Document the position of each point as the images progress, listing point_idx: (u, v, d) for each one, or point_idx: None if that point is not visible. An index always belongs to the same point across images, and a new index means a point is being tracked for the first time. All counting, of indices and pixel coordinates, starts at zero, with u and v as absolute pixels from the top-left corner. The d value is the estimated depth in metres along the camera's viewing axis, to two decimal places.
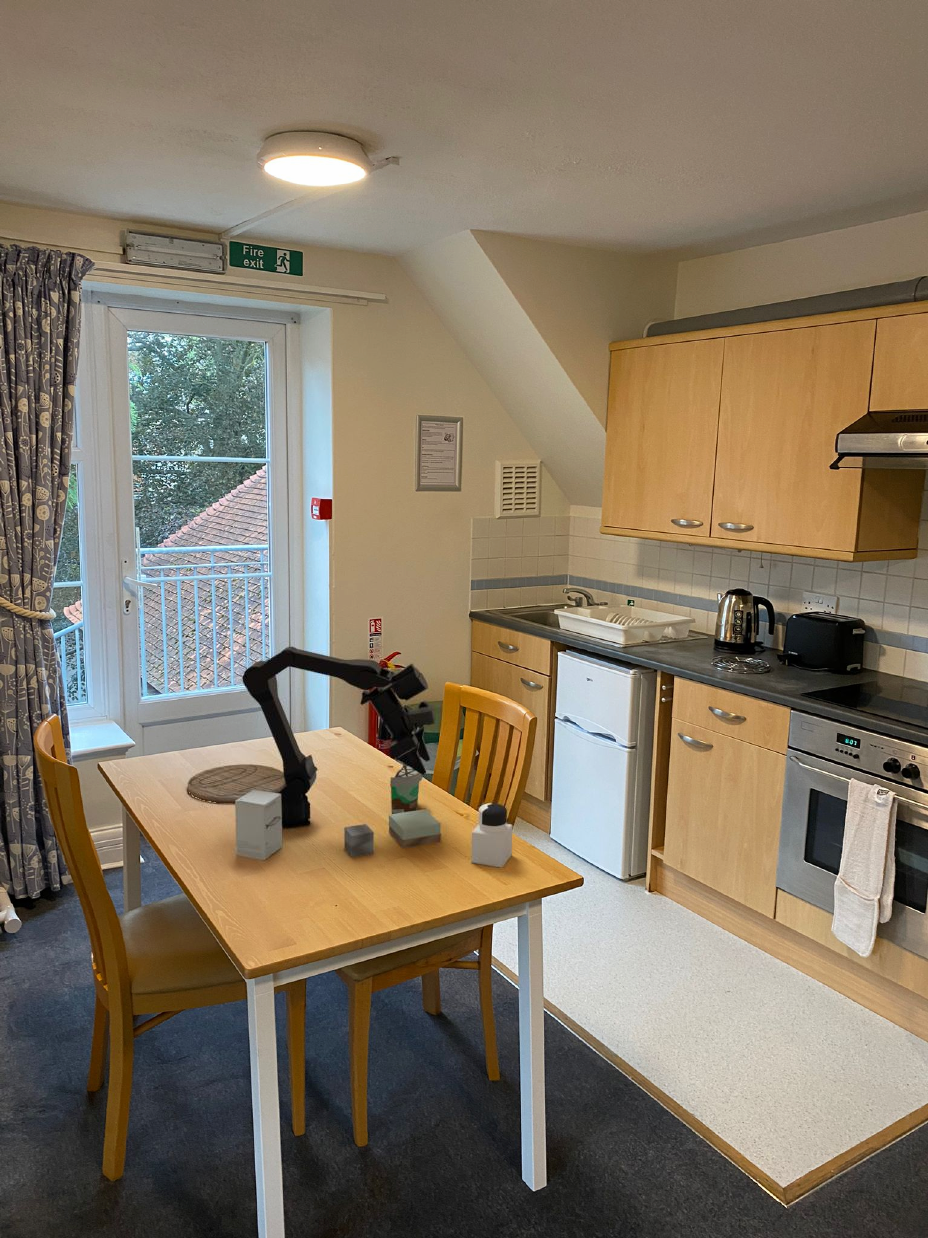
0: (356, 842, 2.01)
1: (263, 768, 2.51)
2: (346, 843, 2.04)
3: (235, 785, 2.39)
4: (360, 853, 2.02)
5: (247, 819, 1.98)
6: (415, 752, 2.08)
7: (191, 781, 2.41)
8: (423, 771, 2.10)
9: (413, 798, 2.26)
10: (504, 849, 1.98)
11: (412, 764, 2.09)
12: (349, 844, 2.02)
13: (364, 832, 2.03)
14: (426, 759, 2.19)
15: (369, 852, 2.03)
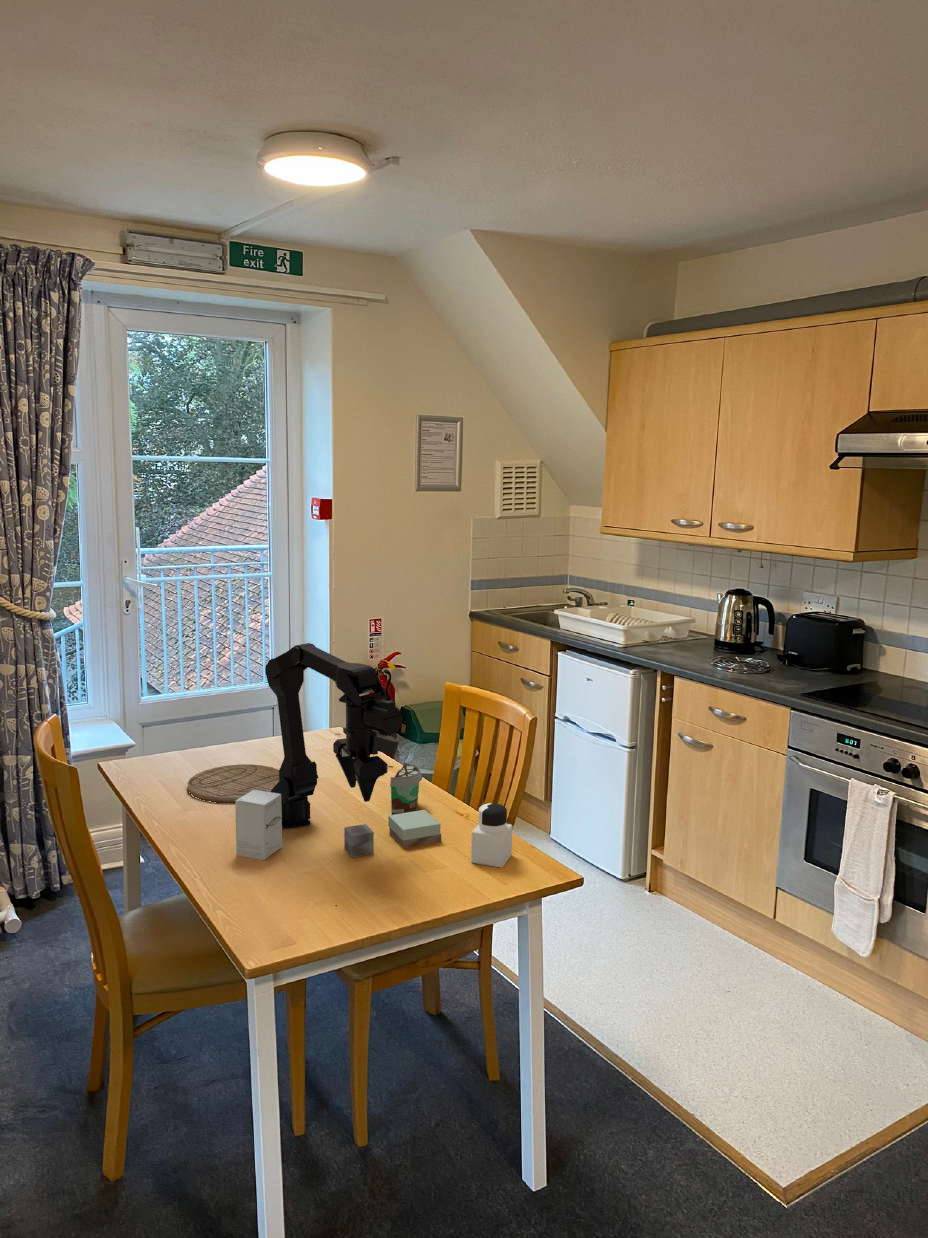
0: (356, 842, 2.01)
1: (263, 768, 2.51)
2: (346, 843, 2.04)
3: (235, 785, 2.39)
4: (360, 853, 2.02)
5: (247, 819, 1.98)
6: (376, 777, 1.96)
7: (191, 780, 2.41)
8: (368, 798, 1.98)
9: (413, 798, 2.26)
10: (504, 849, 1.98)
11: (364, 788, 1.96)
12: (349, 844, 2.02)
13: (364, 832, 2.03)
14: (352, 785, 2.06)
15: (369, 852, 2.03)
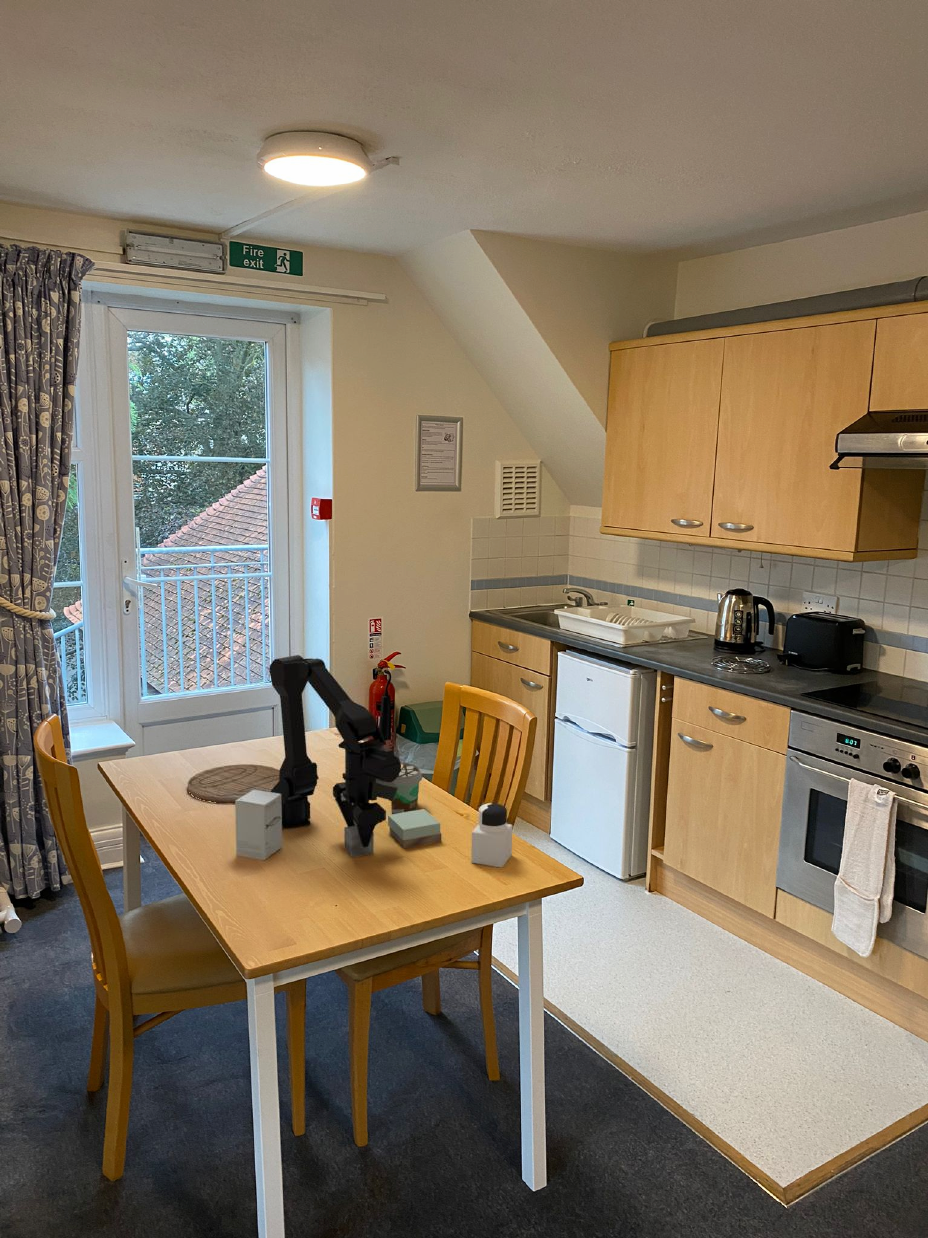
0: (356, 842, 2.01)
1: (263, 768, 2.51)
2: (346, 843, 2.04)
3: (235, 785, 2.39)
4: (360, 853, 2.02)
5: (247, 819, 1.98)
6: (374, 824, 1.98)
7: (191, 780, 2.41)
8: (367, 844, 2.00)
9: (413, 798, 2.26)
10: (504, 849, 1.98)
11: (363, 834, 1.98)
12: (349, 844, 2.02)
13: None
14: None
15: (369, 852, 2.03)
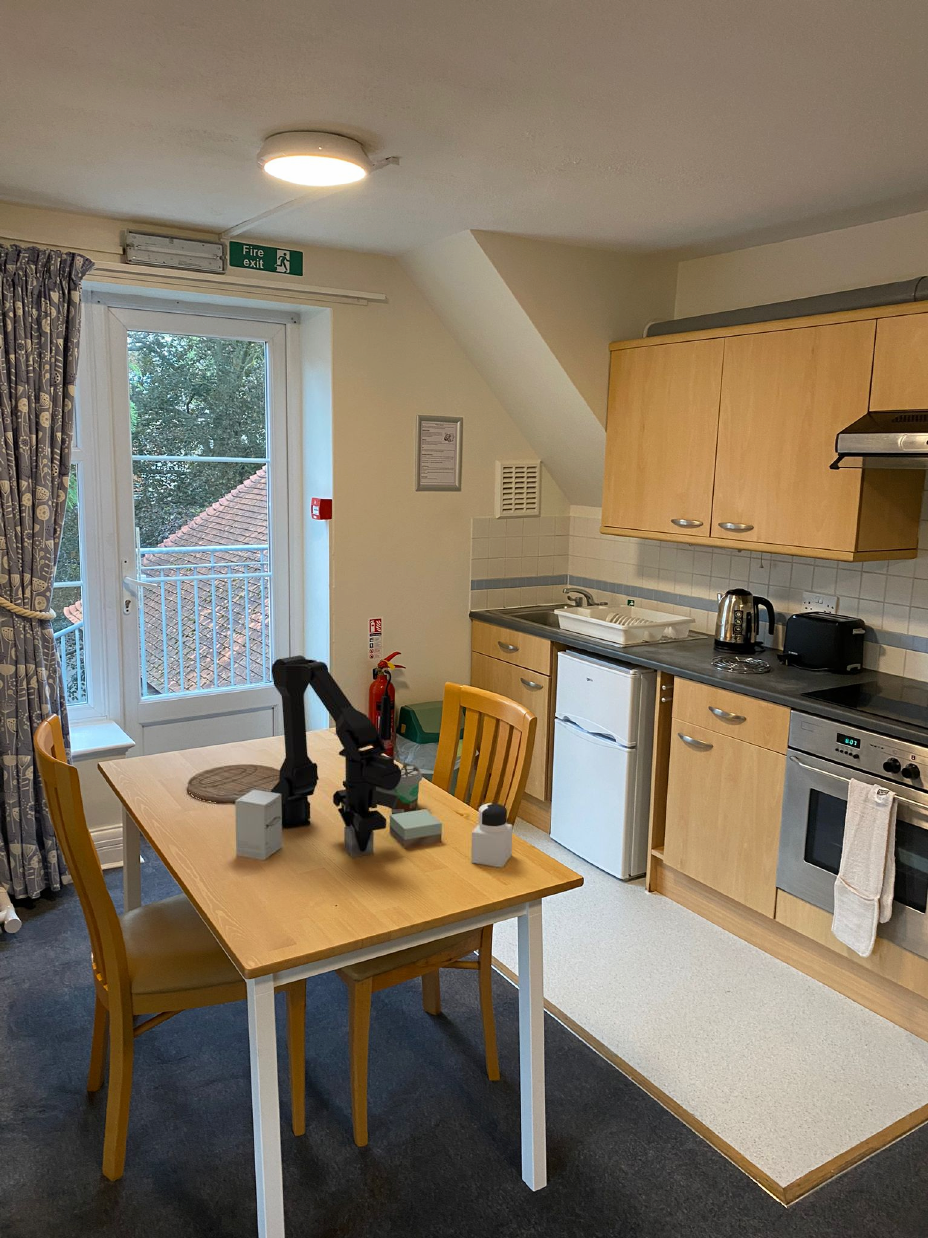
0: (356, 842, 2.01)
1: (263, 768, 2.51)
2: (346, 842, 2.04)
3: (235, 785, 2.39)
4: (360, 853, 2.02)
5: (247, 819, 1.98)
6: None
7: (191, 780, 2.41)
8: (364, 848, 2.02)
9: (413, 798, 2.26)
10: (504, 849, 1.98)
11: (360, 838, 2.00)
12: (349, 843, 2.02)
13: None
14: None
15: (369, 852, 2.03)
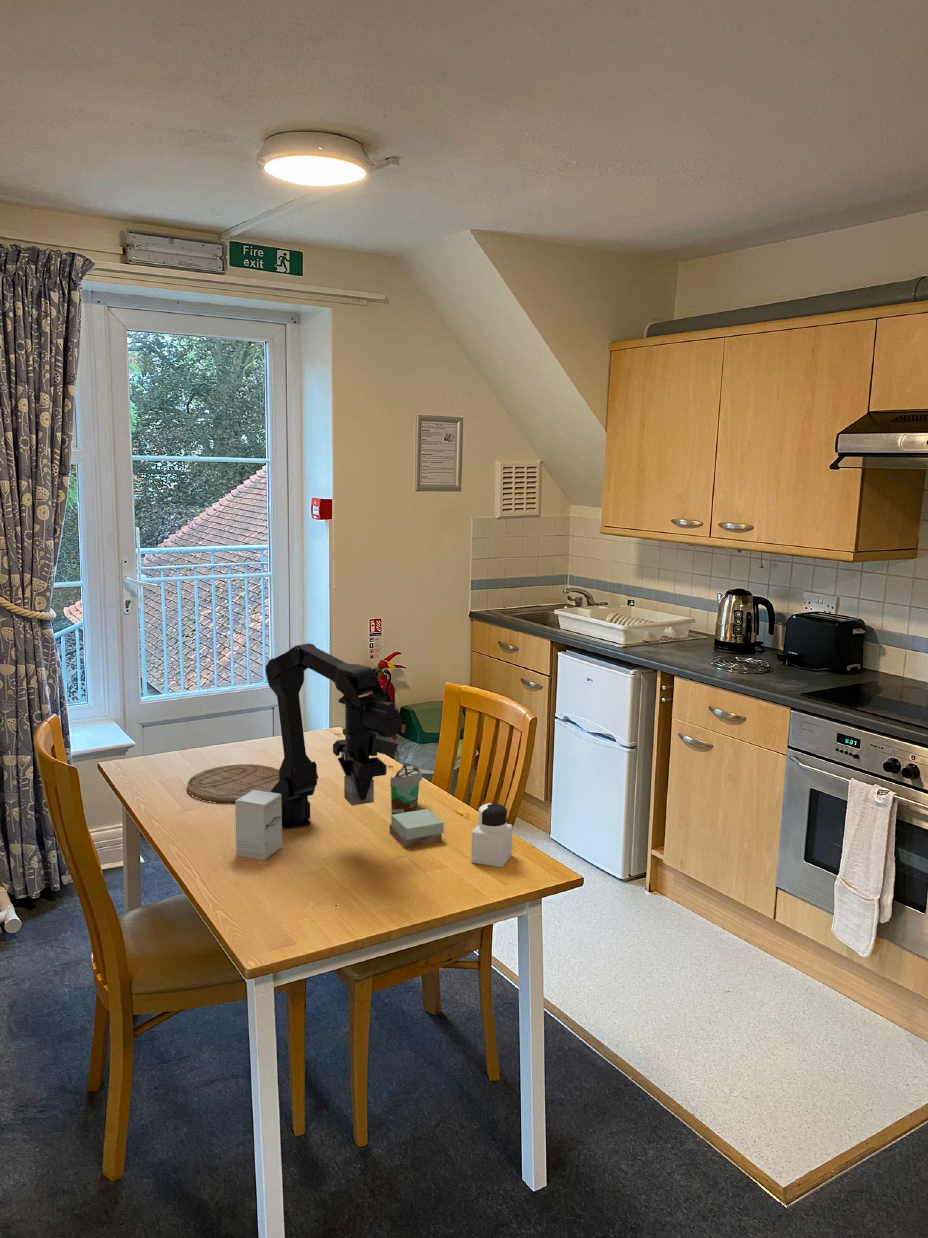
0: (356, 790, 1.99)
1: (263, 768, 2.51)
2: (346, 791, 2.02)
3: (235, 785, 2.39)
4: (360, 801, 2.00)
5: (247, 819, 1.98)
6: None
7: (191, 780, 2.41)
8: (364, 797, 2.00)
9: (413, 798, 2.26)
10: (504, 849, 1.98)
11: (360, 786, 1.98)
12: (349, 792, 2.00)
13: None
14: None
15: (369, 800, 2.01)
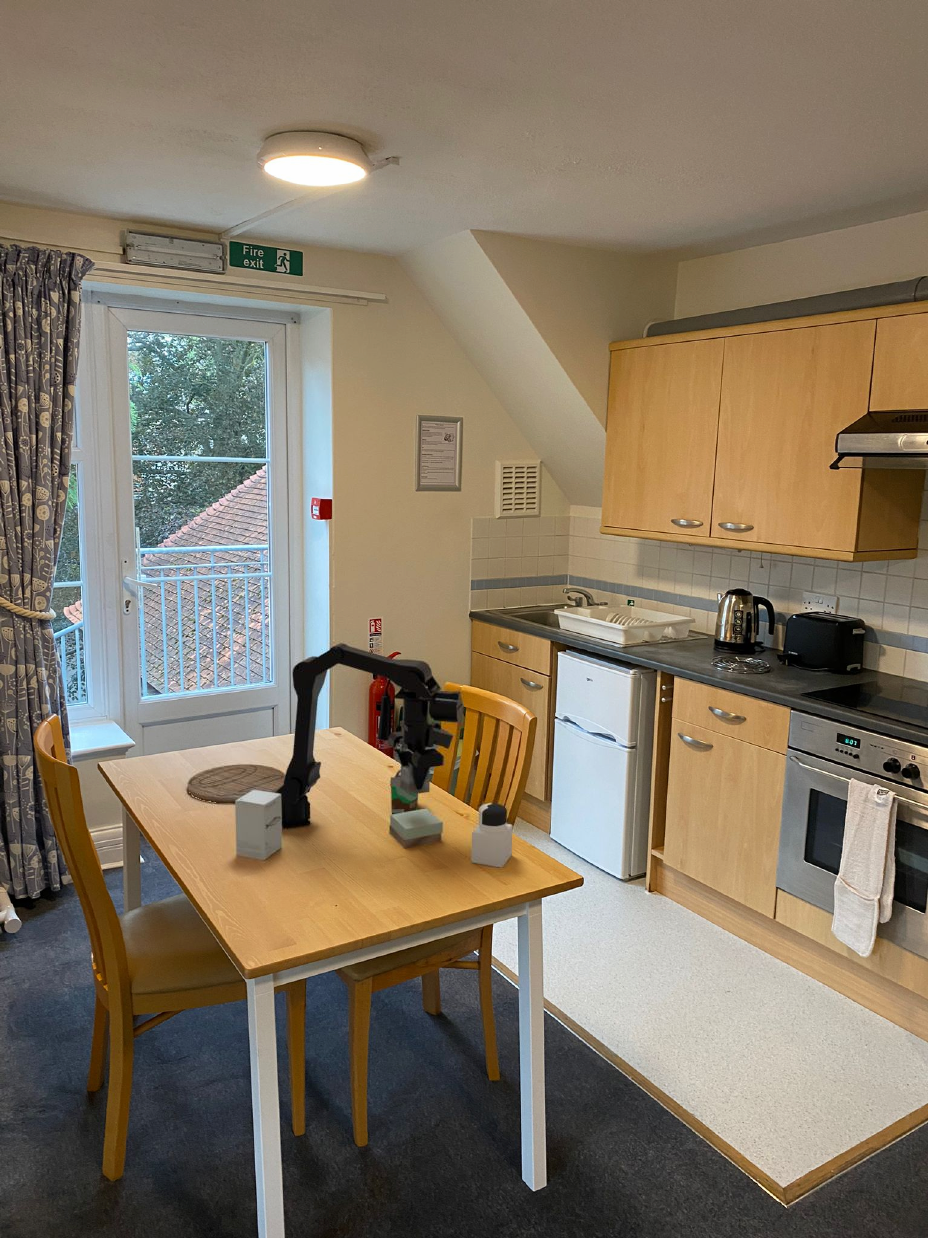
0: (413, 780, 2.07)
1: (263, 768, 2.51)
2: (403, 781, 2.09)
3: (235, 785, 2.39)
4: (417, 791, 2.08)
5: (247, 819, 1.98)
6: (429, 766, 2.06)
7: (191, 780, 2.41)
8: (420, 787, 2.07)
9: (413, 798, 2.26)
10: (504, 849, 1.98)
11: (418, 776, 2.06)
12: (406, 781, 2.08)
13: None
14: None
15: (425, 790, 2.09)
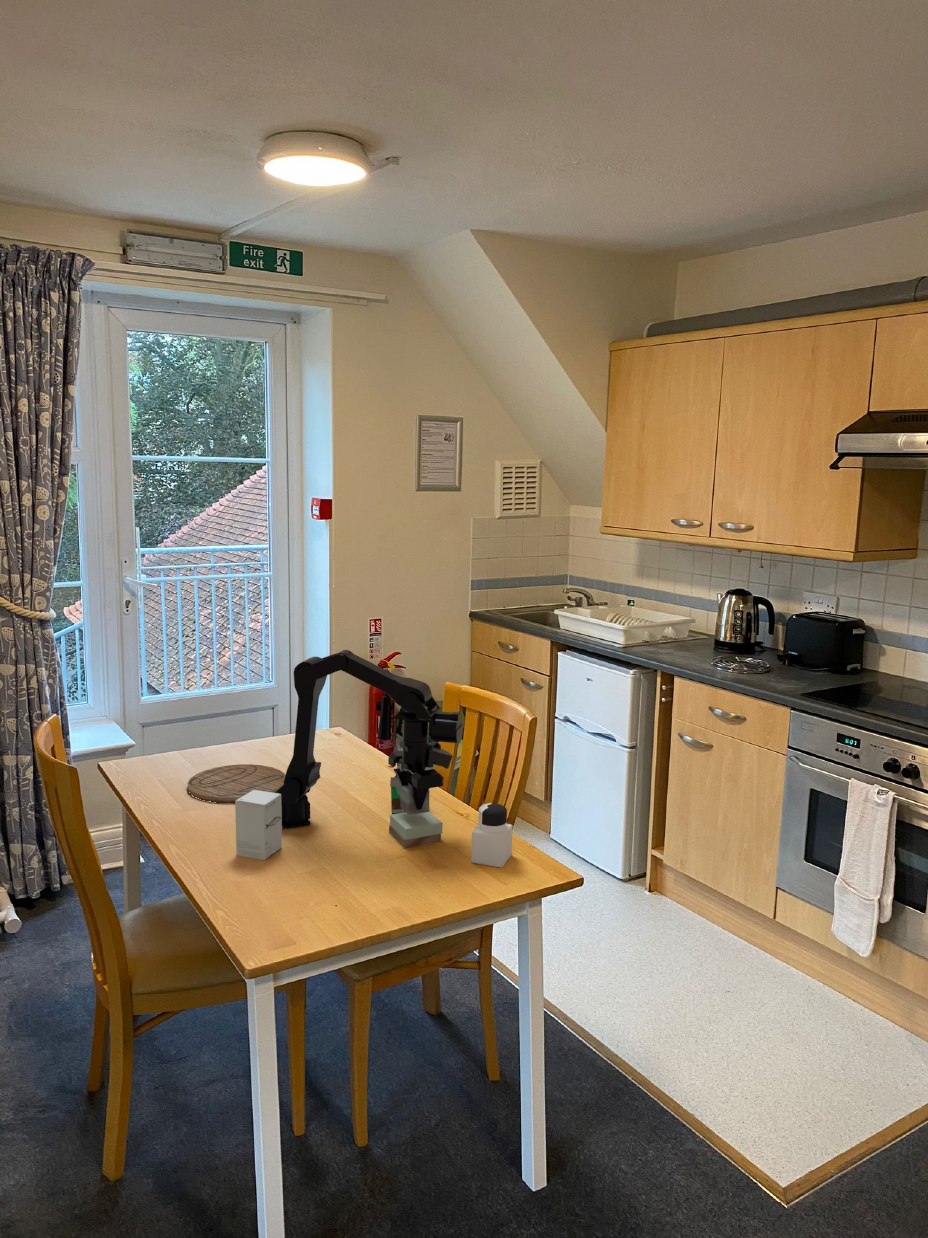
0: (413, 800, 2.08)
1: (263, 768, 2.51)
2: (403, 801, 2.10)
3: (235, 785, 2.39)
4: (416, 811, 2.09)
5: (247, 819, 1.98)
6: None
7: (191, 780, 2.41)
8: (420, 807, 2.08)
9: None
10: (504, 849, 1.98)
11: (417, 796, 2.06)
12: (406, 802, 2.08)
13: None
14: None
15: (425, 810, 2.09)
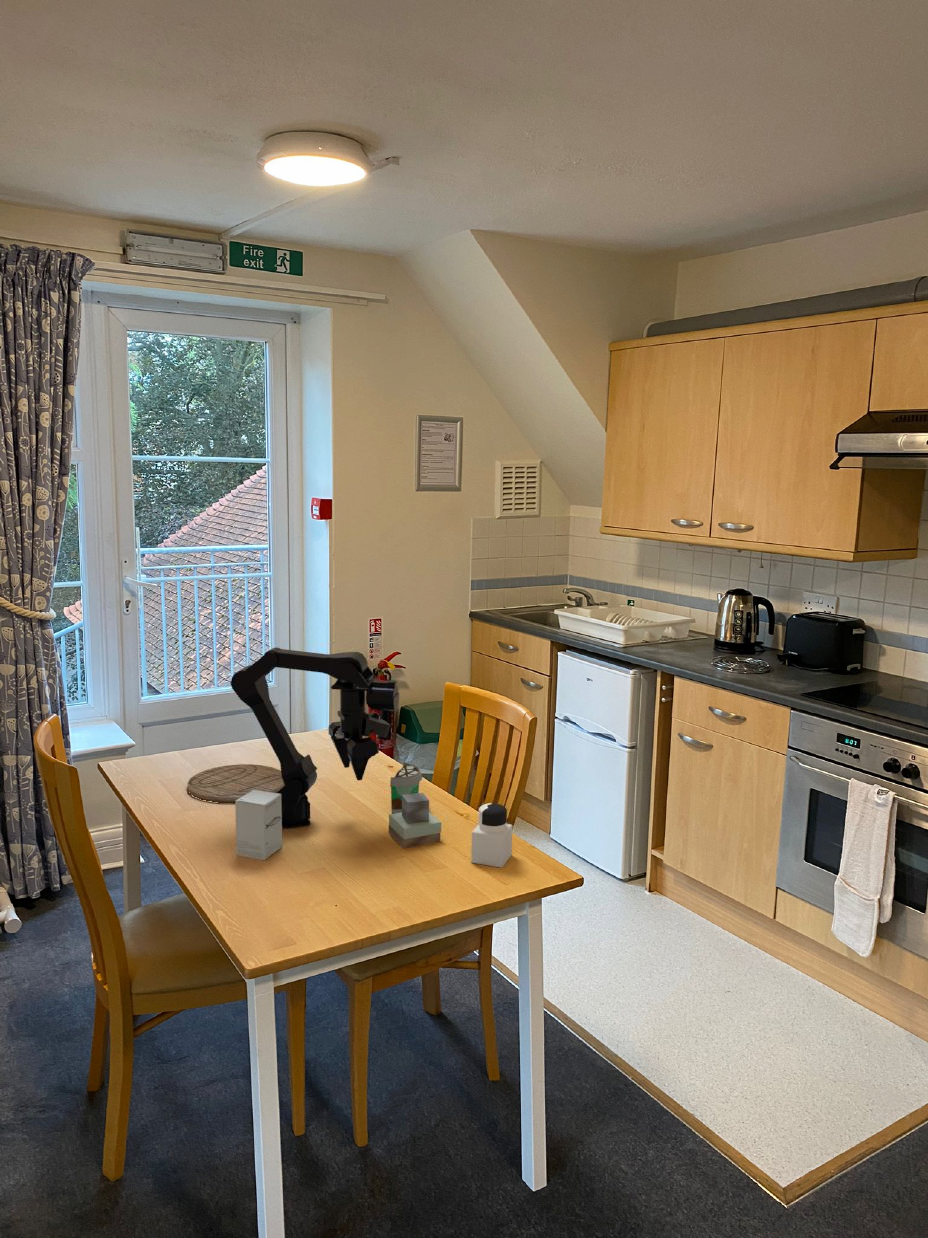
0: (412, 809, 2.08)
1: (263, 768, 2.51)
2: (403, 809, 2.11)
3: (235, 785, 2.39)
4: (416, 820, 2.09)
5: (247, 819, 1.98)
6: (368, 757, 2.09)
7: (191, 780, 2.41)
8: (360, 777, 2.11)
9: None
10: (504, 849, 1.98)
11: (357, 767, 2.09)
12: (406, 810, 2.09)
13: (420, 799, 2.09)
14: (346, 765, 2.19)
15: (424, 819, 2.10)
